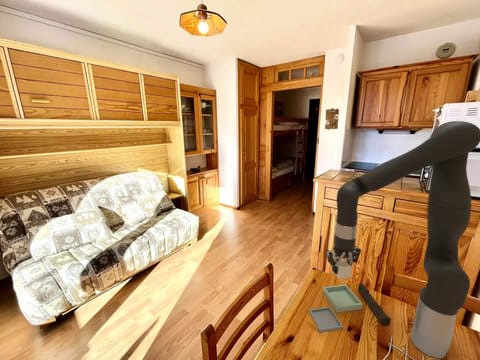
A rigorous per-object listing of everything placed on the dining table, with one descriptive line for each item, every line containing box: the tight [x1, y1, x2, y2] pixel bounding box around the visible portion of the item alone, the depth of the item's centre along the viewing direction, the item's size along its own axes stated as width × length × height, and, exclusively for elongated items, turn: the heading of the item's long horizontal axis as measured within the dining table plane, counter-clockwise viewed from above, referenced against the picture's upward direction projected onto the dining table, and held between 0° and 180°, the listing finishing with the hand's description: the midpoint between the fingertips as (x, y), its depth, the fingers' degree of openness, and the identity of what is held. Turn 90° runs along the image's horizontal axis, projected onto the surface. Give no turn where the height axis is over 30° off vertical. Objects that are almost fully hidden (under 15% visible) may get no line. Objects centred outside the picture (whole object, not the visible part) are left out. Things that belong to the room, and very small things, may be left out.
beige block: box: [331, 258, 353, 280], centre depth 84 cm, size 5×5×5 cm
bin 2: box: [322, 284, 364, 313], centre depth 91 cm, size 11×11×3 cm
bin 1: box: [308, 306, 344, 333], centre depth 82 cm, size 9×9×2 cm
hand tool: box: [357, 283, 392, 326], centre depth 89 cm, size 19×4×5 cm, turn 177°
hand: (341, 271), depth 85 cm, fingers closed on beige block, 5 cm apart
